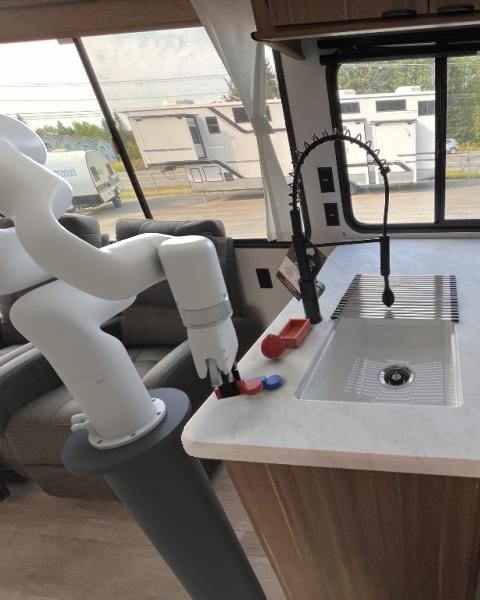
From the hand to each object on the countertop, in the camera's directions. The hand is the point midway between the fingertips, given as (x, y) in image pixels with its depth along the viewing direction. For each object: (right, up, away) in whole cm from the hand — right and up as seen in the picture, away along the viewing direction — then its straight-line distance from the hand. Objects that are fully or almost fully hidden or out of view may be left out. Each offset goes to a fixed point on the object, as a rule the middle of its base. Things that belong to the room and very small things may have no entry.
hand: (232, 391), depth 61 cm
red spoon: (+1, 0, +1) cm, 2 cm away
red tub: (+2, +7, +30) cm, 31 cm away
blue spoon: (+1, -2, +11) cm, 11 cm away
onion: (0, +2, +21) cm, 21 cm away
